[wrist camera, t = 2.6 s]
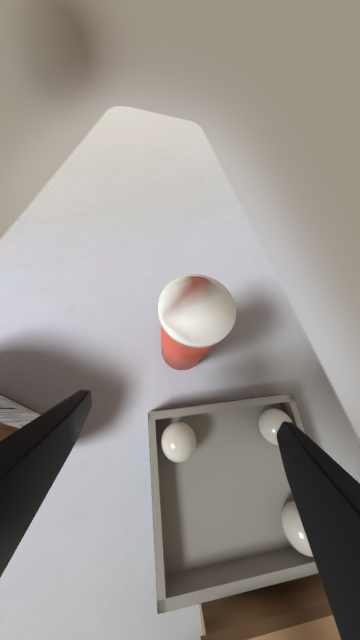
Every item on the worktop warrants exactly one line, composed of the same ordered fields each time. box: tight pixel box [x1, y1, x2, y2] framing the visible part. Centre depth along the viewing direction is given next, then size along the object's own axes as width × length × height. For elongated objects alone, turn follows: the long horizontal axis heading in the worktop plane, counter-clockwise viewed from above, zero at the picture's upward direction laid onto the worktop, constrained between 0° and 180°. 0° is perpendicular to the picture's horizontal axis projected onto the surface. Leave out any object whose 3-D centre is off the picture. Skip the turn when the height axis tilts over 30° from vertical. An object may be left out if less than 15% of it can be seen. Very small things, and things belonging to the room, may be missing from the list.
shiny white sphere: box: [281, 501, 313, 557], centre depth 15 cm, size 3×3×3 cm
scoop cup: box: [158, 274, 236, 370], centre depth 17 cm, size 5×5×11 cm
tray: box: [148, 394, 319, 614], centre depth 17 cm, size 14×12×2 cm
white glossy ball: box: [258, 408, 293, 446], centre depth 18 cm, size 3×3×3 cm
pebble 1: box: [161, 421, 196, 463], centre depth 17 cm, size 3×3×3 cm
